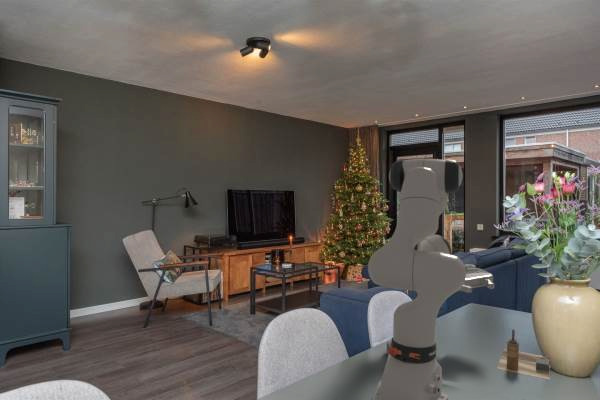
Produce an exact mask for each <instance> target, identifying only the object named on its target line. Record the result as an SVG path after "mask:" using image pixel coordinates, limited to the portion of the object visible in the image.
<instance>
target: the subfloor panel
mask: <svg viewBox="0 0 600 400" xmlns="http://www.w3.org/2000/svg"><path fill="white" fill-rule="evenodd" d="M537 356H538V357H541V356H542V357H543V356H544V355H540V354H538V355H537V354H533V353H528V352H523V351H519V357H518V370H510V369H508V368H507V348H503V352H502V354H501V357H500V359H499V361H498V365H497V368H496V369H497V370H502V371H505V372H510V373H516V374H520V375H526V376H529V377H535V378H538V379H545V380H548V381H550V380H551V378H550V376H551V364H550V365H549V372H545V371H541V370H536V359H537Z"/></svg>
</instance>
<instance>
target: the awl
mask: <svg viewBox="0 0 600 400" xmlns="http://www.w3.org/2000/svg"><path fill="white" fill-rule="evenodd" d="M515 331H516V330H515V329H511V338H509V340H508V341H507V342H506V343H507V344H506V349H507V368H508V369H510V370H518V357H519V352H520V350H519V349H520V347H519V346H520V343H519V342H518V341H517V340H518V339H515V335H516V334H515V333H516V332H515Z"/></svg>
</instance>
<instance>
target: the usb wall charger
mask: <svg viewBox="0 0 600 400" xmlns="http://www.w3.org/2000/svg"><path fill="white" fill-rule="evenodd" d="M390 345H391V341H387V342H386V355H387V356H388V355H389V353H388V350H389V347H390Z"/></svg>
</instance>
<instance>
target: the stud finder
mask: <svg viewBox="0 0 600 400" xmlns="http://www.w3.org/2000/svg"><path fill="white" fill-rule="evenodd" d="M540 356H541V357H538V356H537V359H536V370H541V371H545V372H549V361H550V360H548V359H547V358H545V357H546V356H545V357H542V356H543V355H540Z"/></svg>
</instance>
